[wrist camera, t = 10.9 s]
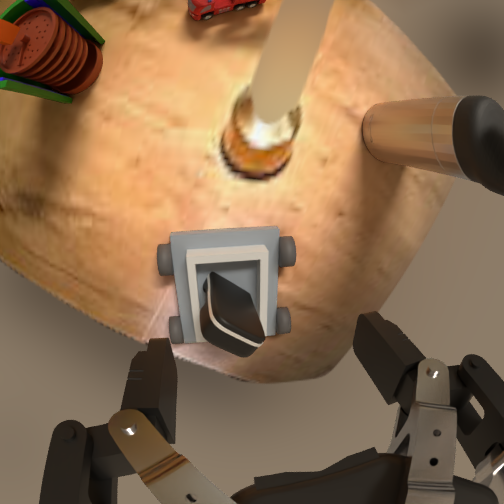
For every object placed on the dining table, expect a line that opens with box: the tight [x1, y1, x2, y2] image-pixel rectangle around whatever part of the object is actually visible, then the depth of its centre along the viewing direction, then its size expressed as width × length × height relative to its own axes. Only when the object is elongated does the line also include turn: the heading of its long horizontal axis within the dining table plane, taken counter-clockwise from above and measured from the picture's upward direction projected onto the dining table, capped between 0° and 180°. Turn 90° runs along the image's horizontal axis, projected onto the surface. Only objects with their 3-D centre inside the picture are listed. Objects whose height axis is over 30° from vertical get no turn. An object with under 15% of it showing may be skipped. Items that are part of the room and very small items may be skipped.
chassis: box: [157, 226, 296, 344], centre depth 38 cm, size 17×17×4 cm
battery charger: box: [199, 272, 265, 357], centre depth 34 cm, size 7×4×11 cm, turn 52°
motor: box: [0, 0, 105, 103], centre depth 16 cm, size 10×9×20 cm
